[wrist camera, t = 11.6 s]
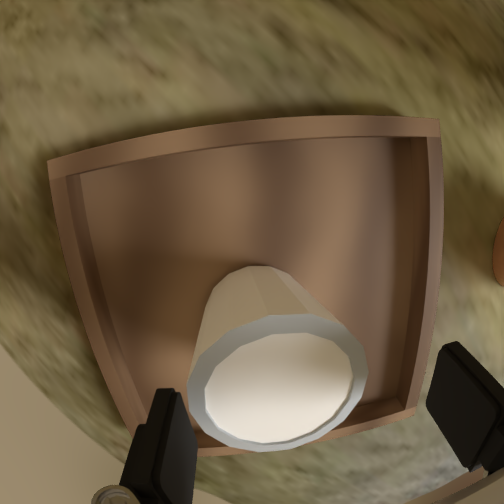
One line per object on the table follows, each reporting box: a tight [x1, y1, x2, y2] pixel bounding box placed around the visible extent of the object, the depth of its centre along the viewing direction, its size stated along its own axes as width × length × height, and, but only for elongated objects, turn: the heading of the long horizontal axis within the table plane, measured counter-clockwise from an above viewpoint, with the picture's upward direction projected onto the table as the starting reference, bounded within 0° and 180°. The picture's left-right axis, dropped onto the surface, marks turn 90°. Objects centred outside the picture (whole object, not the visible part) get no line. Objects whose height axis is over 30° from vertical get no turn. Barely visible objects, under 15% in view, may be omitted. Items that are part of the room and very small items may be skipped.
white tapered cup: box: [186, 266, 369, 452], centre depth 14 cm, size 7×7×7 cm
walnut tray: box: [47, 115, 444, 457], centre depth 17 cm, size 20×20×2 cm
